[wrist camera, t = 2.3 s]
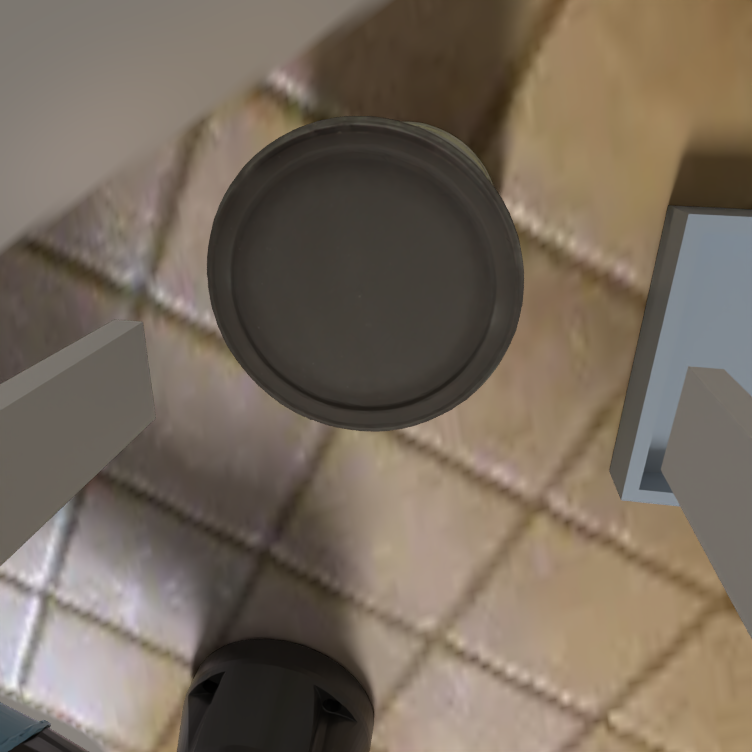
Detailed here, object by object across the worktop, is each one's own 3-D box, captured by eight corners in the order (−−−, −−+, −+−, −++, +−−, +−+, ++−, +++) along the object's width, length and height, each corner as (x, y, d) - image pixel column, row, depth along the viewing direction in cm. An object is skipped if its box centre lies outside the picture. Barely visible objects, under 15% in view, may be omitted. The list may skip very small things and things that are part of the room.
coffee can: (535, 255, 31) (582, 348, 19) (374, 345, 35) (319, 476, 22) (438, 74, 29) (413, 35, 16) (273, 190, 32) (142, 235, 19)
